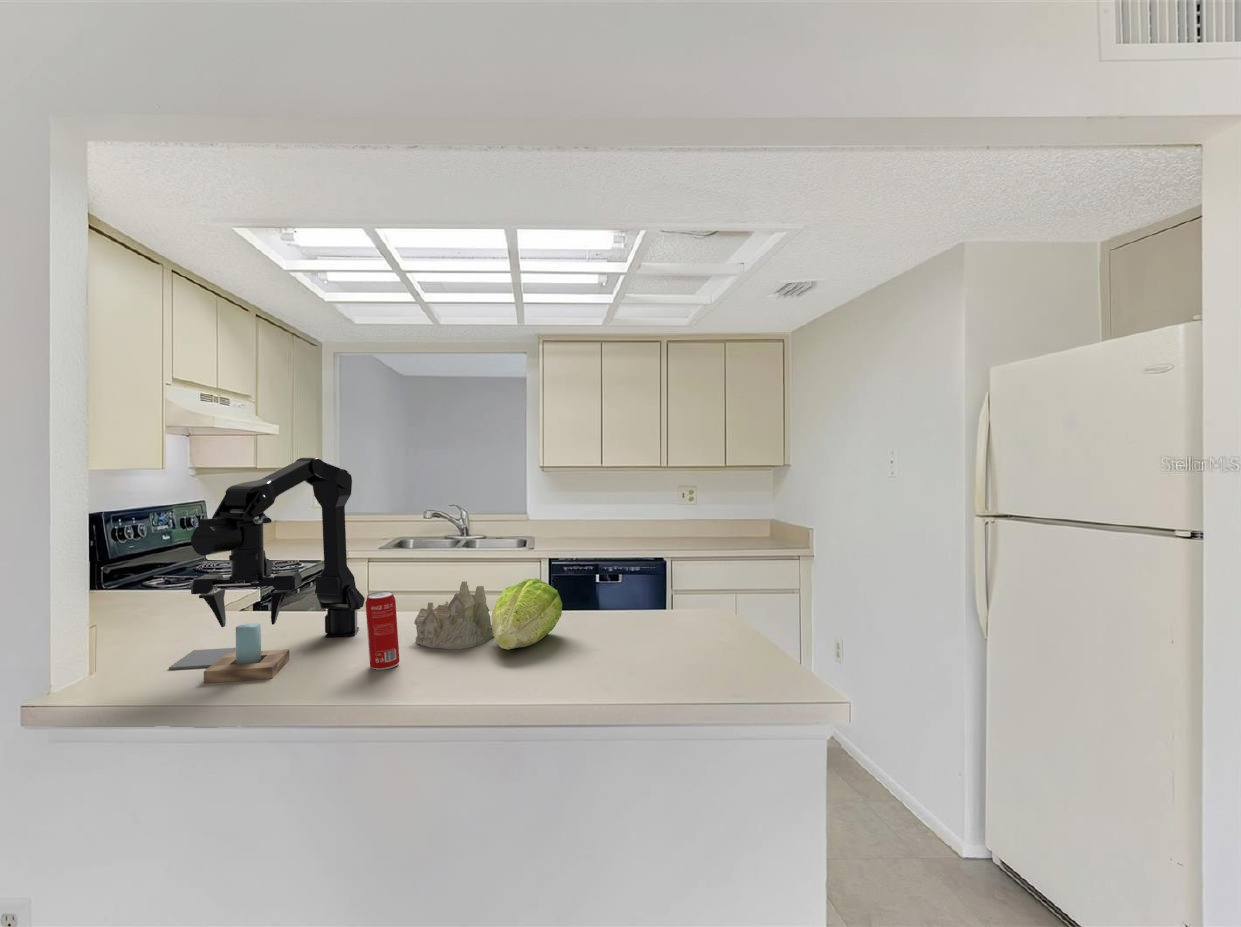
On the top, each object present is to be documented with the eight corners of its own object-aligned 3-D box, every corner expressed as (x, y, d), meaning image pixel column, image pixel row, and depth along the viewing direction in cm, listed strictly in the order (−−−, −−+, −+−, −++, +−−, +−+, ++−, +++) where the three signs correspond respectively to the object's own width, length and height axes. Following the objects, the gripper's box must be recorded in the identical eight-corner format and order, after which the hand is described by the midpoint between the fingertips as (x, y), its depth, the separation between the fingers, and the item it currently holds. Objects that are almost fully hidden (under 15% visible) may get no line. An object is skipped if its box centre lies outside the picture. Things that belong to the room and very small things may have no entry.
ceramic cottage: (505, 633, 161) (500, 571, 160) (459, 655, 146) (453, 586, 146) (455, 630, 168) (450, 570, 167) (406, 650, 153) (400, 585, 153)
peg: (264, 666, 137) (263, 622, 137) (257, 673, 133) (256, 628, 133) (240, 668, 136) (240, 624, 136) (232, 675, 132) (232, 629, 132)
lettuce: (460, 627, 142) (517, 596, 138) (499, 588, 165) (548, 560, 162) (495, 684, 143) (553, 654, 139) (529, 637, 166) (579, 610, 163)
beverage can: (405, 663, 139) (404, 591, 139) (384, 673, 133) (383, 597, 133) (381, 660, 141) (380, 589, 141) (360, 669, 135) (359, 595, 134)
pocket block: (289, 659, 142) (289, 649, 142) (272, 678, 130) (272, 667, 130) (227, 663, 139) (226, 653, 139) (203, 683, 127) (203, 671, 127)
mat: (253, 648, 149) (253, 646, 149) (234, 665, 138) (234, 663, 138) (193, 652, 147) (193, 650, 147) (168, 669, 135) (168, 667, 135)
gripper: (307, 540, 144) (308, 613, 144) (211, 543, 140) (212, 618, 140) (293, 548, 133) (294, 626, 133) (189, 551, 129) (190, 632, 129)
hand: (248, 625), depth 134 cm, fingers open, 9 cm apart
